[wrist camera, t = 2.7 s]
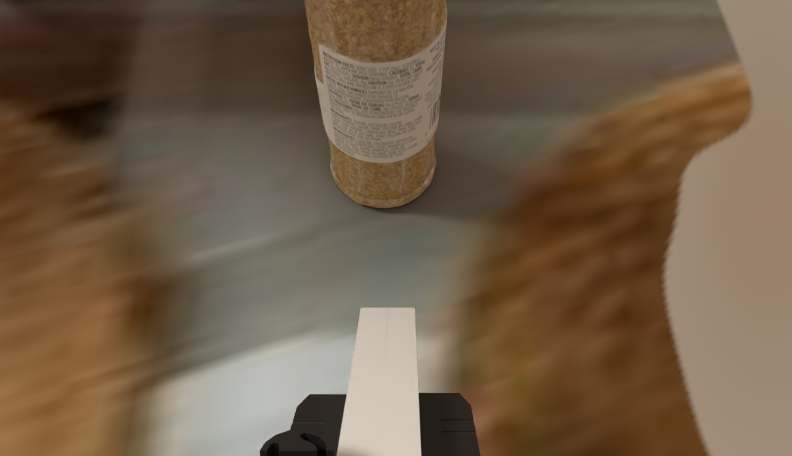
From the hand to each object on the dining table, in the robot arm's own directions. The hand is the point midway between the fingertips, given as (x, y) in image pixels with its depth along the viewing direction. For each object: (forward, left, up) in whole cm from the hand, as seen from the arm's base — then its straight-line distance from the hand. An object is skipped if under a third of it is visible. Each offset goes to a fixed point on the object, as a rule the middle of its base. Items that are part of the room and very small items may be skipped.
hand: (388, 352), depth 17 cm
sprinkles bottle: (-7, +6, -5) cm, 11 cm away
